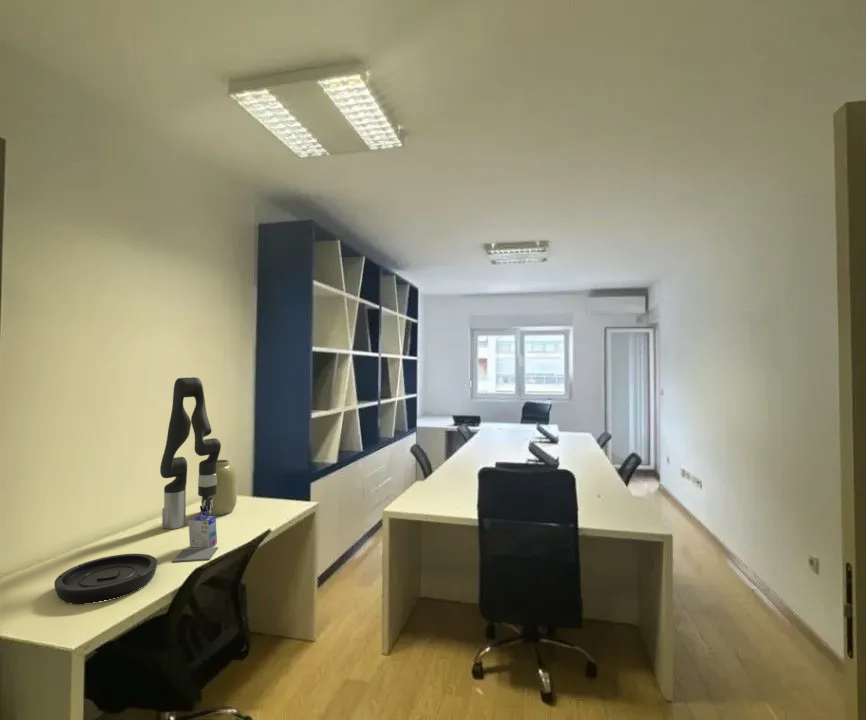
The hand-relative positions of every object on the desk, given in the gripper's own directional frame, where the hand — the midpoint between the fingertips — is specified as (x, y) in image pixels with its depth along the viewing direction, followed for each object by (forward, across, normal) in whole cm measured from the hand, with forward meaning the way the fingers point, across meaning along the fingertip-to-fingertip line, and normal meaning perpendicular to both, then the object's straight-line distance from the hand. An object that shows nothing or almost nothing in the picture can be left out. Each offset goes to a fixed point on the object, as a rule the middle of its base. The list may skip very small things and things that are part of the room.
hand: (207, 522), depth 209 cm
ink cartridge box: (+8, +5, 0) cm, 10 cm away
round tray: (+9, +39, -22) cm, 45 cm away
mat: (+8, +16, 0) cm, 18 cm away
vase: (+9, -43, -7) cm, 45 cm away
